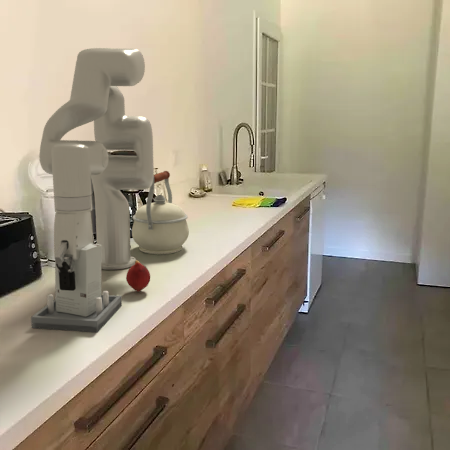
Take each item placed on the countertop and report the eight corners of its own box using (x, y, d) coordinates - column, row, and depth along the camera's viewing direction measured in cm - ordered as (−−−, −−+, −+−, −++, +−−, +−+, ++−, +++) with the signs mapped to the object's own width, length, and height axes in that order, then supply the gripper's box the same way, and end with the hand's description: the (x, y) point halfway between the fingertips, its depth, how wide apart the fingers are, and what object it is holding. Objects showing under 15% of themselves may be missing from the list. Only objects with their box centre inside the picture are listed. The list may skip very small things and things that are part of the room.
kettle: (178, 259, 157) (177, 177, 151) (121, 255, 160) (118, 175, 155) (198, 240, 181) (198, 169, 175) (148, 237, 184) (147, 167, 179)
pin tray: (63, 302, 120) (62, 281, 119) (121, 305, 119) (120, 284, 117) (31, 328, 106) (30, 304, 105) (97, 332, 104) (96, 308, 103)
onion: (151, 287, 131) (151, 257, 129) (149, 295, 125) (148, 263, 124) (128, 287, 131) (127, 257, 129) (125, 295, 125) (124, 263, 124)
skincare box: (55, 312, 111) (51, 245, 108) (72, 303, 117) (69, 239, 113) (88, 317, 108) (85, 249, 105) (104, 308, 114) (101, 242, 111)
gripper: (73, 196, 116) (77, 269, 119) (36, 210, 99) (41, 295, 103) (105, 197, 115) (108, 271, 118) (73, 211, 98) (77, 297, 102)
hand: (77, 282), depth 111 cm, fingers open, 9 cm apart
